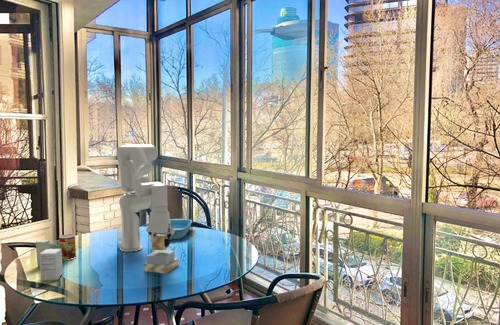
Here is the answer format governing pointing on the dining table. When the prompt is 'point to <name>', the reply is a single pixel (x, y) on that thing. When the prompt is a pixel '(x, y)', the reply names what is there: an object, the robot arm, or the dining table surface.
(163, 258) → the slate block
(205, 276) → the dining table surface
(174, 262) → the birch slab
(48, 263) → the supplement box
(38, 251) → the box
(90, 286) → the dining table surface
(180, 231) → the casserole dish
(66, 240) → the canned food
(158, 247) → the block
